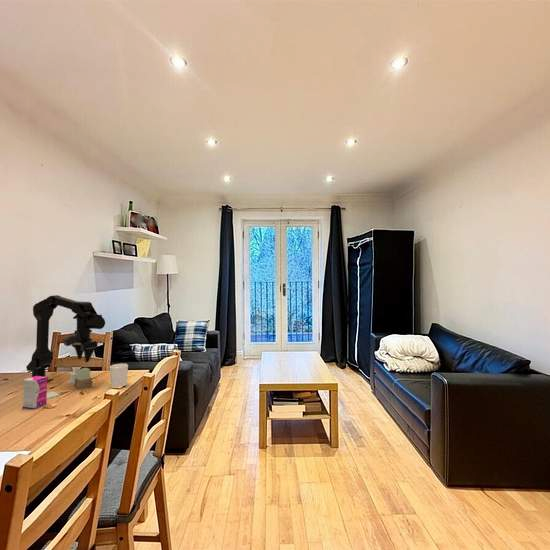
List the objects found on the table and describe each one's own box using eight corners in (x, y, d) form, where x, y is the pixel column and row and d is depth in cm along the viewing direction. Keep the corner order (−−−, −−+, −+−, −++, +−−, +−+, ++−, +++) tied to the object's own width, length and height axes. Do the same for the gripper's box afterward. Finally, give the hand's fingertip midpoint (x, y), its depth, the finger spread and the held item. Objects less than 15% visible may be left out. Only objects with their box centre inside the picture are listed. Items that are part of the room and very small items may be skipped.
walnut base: (74, 387, 158) (74, 378, 158) (88, 384, 162) (88, 376, 162) (78, 390, 153) (78, 381, 153) (92, 387, 158) (92, 378, 158)
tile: (36, 396, 144) (36, 395, 144) (54, 392, 150) (54, 391, 150) (41, 400, 140) (41, 399, 140) (59, 395, 145) (59, 395, 145)
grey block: (69, 382, 164) (69, 373, 164) (78, 380, 168) (78, 371, 168) (75, 383, 162) (75, 374, 162) (84, 381, 167) (84, 372, 167)
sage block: (76, 379, 157) (76, 369, 157) (86, 376, 161) (86, 367, 161) (79, 380, 155) (79, 371, 155) (90, 378, 158) (90, 369, 158)
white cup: (131, 384, 160) (131, 364, 160) (119, 390, 153) (119, 368, 153) (118, 383, 163) (118, 363, 163) (105, 388, 155) (105, 367, 155)
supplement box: (34, 409, 130) (34, 380, 130) (22, 408, 131) (22, 379, 132) (47, 404, 136) (47, 376, 136) (35, 403, 137) (35, 375, 137)
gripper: (57, 328, 159) (57, 360, 159) (71, 332, 147) (71, 367, 147) (83, 325, 168) (82, 356, 167) (98, 329, 155) (97, 362, 155)
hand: (83, 360), depth 159 cm, fingers open, 9 cm apart
